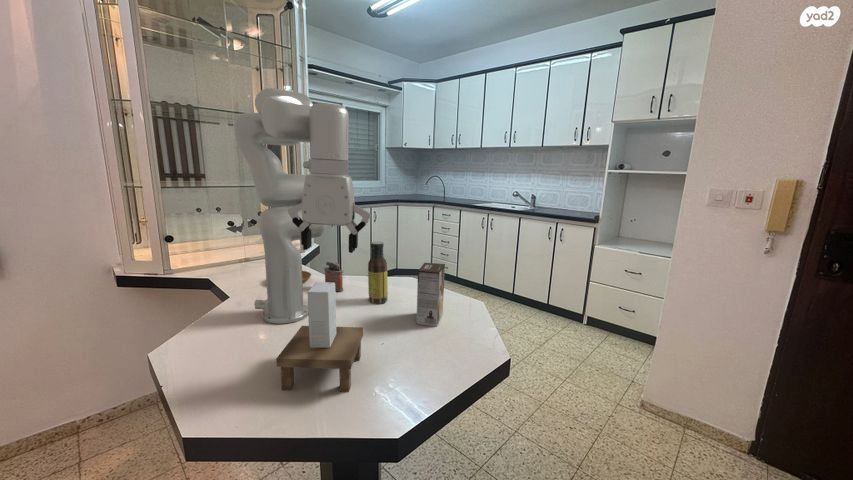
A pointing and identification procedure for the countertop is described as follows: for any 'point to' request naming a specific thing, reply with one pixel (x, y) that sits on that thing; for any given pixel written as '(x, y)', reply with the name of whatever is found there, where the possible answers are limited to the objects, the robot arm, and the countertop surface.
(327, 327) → the skincare box
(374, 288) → the sauce bottle
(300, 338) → the walnut stool
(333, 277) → the lighter
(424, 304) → the coffee box
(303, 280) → the plant saucer
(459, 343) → the countertop surface
